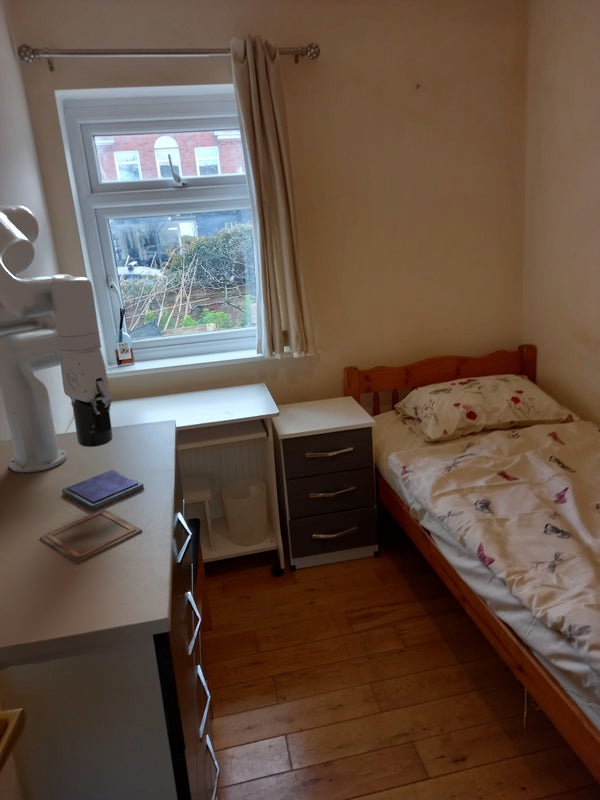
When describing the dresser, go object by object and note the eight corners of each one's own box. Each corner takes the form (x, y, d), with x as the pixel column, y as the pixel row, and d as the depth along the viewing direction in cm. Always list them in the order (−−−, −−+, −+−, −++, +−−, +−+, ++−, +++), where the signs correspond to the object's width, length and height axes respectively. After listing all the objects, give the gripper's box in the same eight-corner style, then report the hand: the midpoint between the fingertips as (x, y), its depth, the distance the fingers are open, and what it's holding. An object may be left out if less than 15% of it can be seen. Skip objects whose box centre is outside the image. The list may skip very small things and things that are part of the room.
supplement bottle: (102, 448, 113) (93, 391, 109) (71, 447, 114) (62, 390, 111) (119, 435, 119) (111, 381, 116) (90, 434, 121) (81, 380, 117)
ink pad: (62, 494, 120) (61, 488, 119) (112, 474, 128) (111, 468, 128) (93, 511, 112) (91, 504, 112) (143, 488, 121) (143, 482, 120)
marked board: (40, 539, 103) (39, 536, 103) (103, 510, 112) (103, 507, 112) (77, 564, 95) (76, 561, 95) (142, 531, 104) (142, 528, 104)
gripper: (40, 340, 113) (55, 424, 118) (85, 351, 102) (100, 442, 108) (75, 334, 118) (88, 414, 124) (121, 343, 108) (133, 430, 113)
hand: (93, 426), depth 116 cm, fingers closed on supplement bottle, 6 cm apart
